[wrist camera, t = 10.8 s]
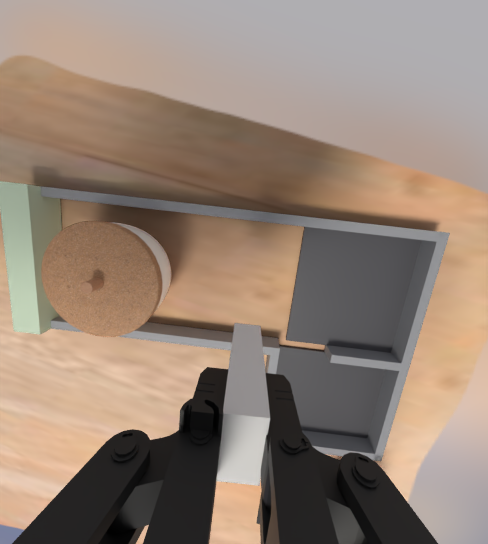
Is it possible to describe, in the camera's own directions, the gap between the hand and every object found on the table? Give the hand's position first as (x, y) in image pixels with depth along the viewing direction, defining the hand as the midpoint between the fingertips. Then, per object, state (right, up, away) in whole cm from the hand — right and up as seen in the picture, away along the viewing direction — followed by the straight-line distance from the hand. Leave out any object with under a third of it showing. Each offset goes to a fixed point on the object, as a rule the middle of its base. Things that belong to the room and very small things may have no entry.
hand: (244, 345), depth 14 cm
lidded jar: (-13, +5, +15) cm, 20 cm away
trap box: (-3, -3, +16) cm, 17 cm away
